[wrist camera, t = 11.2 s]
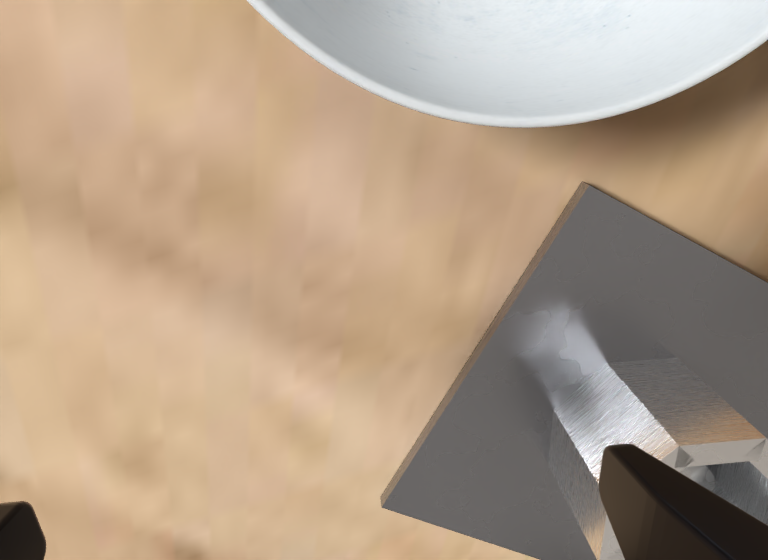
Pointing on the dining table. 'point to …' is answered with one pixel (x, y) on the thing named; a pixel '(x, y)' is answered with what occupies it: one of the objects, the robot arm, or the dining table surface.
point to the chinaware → (522, 52)
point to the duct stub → (578, 370)
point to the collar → (653, 439)
